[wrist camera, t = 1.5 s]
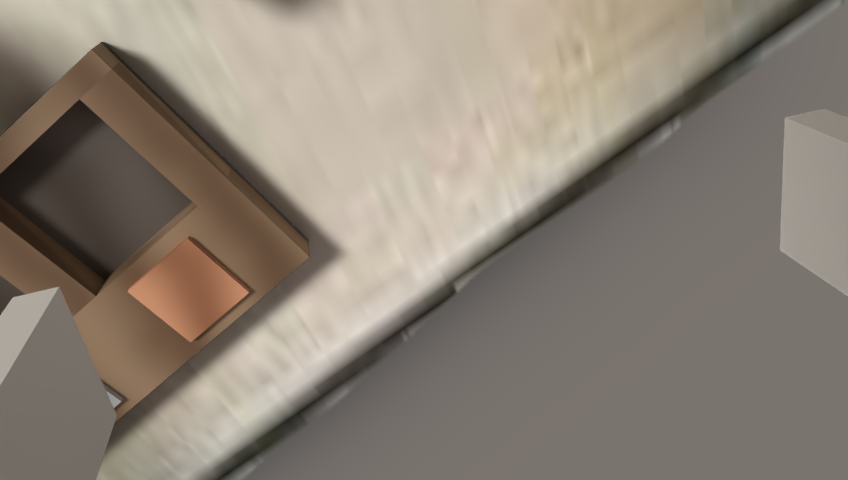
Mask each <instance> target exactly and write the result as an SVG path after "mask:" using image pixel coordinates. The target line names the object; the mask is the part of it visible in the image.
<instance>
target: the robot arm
mask: <svg viewBox="0 0 848 480" xmlns="http://www.w3.org/2000/svg"><path fill="white" fill-rule="evenodd" d="M780 251H781V252H783V253H785V254H786V255H787V256H789V257H790V258H792V259H793V260H795V261H796V262H798V263H799V264H801V265H802V266H804V267H805V268H806V269H808V270H809V271H811V272H812V273H814V274H815V275H817V276H819V277H820V278H822V279H823V280H824V281H826V282H827V283H829V284H830V285H832V286H833V287H834V288H836V289H837V290H839V291H840V292H842V293H843V294H845V295H846V296H848V117H845V116H843V115H840V114H837V113H834V112H832V111H829V110H826V109H819V110H815V111H811V112H807V113H803V114H798V115H794V116H789V117H785V125H784V152H783V178H782V204H781V231H780ZM116 417H117V414H116V412H115V410H114V408H113V405H112V403H111V401H110V399H109V396H108V394H107V392H106V390H105V388H104V385H103V383H102V381H101V379H100V376H99V374H98V372H97V370H96V368H95V365H94V363H93V361H92V359H91V356H90V354H89V352H88V350H87V347H86V345H85V343H84V341H83V339H82V336H81V334H80V332H79V330H78V327H77V325H76V323H75V321H74V319H73V316H72V314H71V312H70V310H69V307H68V305H67V303H66V301H65V298H64V296H63V294H62V292H61V290H60V287H55V288H51V289H47V290H42V291H38V292H34V293H30V294H25V295H21V296H17V297H13V298H12V299H11V301H10V302H9V304H8V305H7V306H6V308H5V309H4V311H3V312H2V314H1V315H0V480H96V478H97V475H98V472H99V469H100V466H101V463H102V460H103V457H104V453H105V450H106V447H107V444H108V441H109V438H110V435H111V432H112V429H113V426H114V423H115V420H116Z"/></svg>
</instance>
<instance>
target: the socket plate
mask: <svg viewBox="0 0 848 480" xmlns="http://www.w3.org/2000/svg"><path fill="white" fill-rule="evenodd" d="M309 257H310V255H309V242H308V239H307V238H306V237H305V236H304V235H303V234H302V233H301V232H300V231H299V230H298V229H296V228H295V227H294V226H293V225H292V224H291V223H290V222H289V221H288V220H287V219H286V218H285V217H284V216H283V215H282V214H281V213H280V212H279V211H278V210H277V209H276V208H275V207H274V206H273V205H272V204H271V203H269V202H268V201H267V200H266V199H265V198H264V197H263V196H262V195H261V194H260V193H259V192H258V191H257V190H256V189H255V188H254V187H253V186H252V185H251V184H250V183H249V182H248V181H247V180H246V179H245V178H244V177H243V176H241V175H240V174H239V173H238V172H237V171H236V170H235V169H234V168H233V167H232V166H231V165H230V164H229V163H228V162H227V161H226V160H225V159H224V158H223V157H222V156H221V155H220V154H219V153H218V152H217V151H216V150H214V149H213V148H212V147H211V146H210V145H209V144H208V143H207V142H206V141H205V140H204V139H203V138H202V137H201V136H200V135H199V134H198V133H197V132H196V131H195V130H194V129H193V128H192V127H191V126H190V125H189V124H187V123H186V122H185V121H184V120H183V119H182V118H181V117H180V116H179V115H178V114H177V113H176V112H175V111H174V110H173V109H172V108H171V107H170V106H169V105H168V104H167V103H166V102H165V101H164V100H163V99H162V98H160V97H159V96H158V95H157V94H156V93H155V92H154V91H153V90H152V89H151V88H150V87H149V86H148V85H147V84H146V83H145V82H144V81H143V80H142V79H141V78H140V77H139V76H138V75H137V74H136V73H135V72H133V71H132V70H131V69H130V68H129V67H128V66H127V65H126V64H125V63H124V62H123V61H122V60H121V59H120V58H119V57H118V56H117V55H116V54H115V53H114V52H113V51H112V50H111V49H110V48H109V47H108V46H107V45H105V44H104V43H103V42H101V43H100V44H98V45H97V46H96V47H94V48H93V49H91V50H90V51H89V52H88V53H87V54H86V55H85V56H84V57H83V58H82V59H81V60H80V61H79V62H78V63H77V64H76V65H75V66H74V67H72V68H71V69H70V70H69V71H68V72H67V73H66V74H65V75H64V76H63V77H62V78H61V79H60V80H59V81H58V82H57V83H56V84H55V85H54V86H53V87H51V88H50V89H49V90H48V91H47V92H46V93H45V94H44V95H43V96H42V97H41V98H40V99H39V100H38V101H37V102H36V103H35V104H34V105H33V106H31V107H30V108H29V109H28V110H27V111H26V112H25V113H24V114H23V115H22V116H21V117H20V118H19V119H18V120H17V121H16V122H15V123H14V124H13V125H12V126H10V127H9V128H8V129H7V130H6V131H5V132H4V133H3V134H2V135H1V136H0V315H1V314H2V312H3V311H4V309H5V308H6V306H7V305H8V304H9V302H10V301H11V299H12V298H13V297H17V296H21V295H25V294H30V293H34V292H38V291H42V290H47V289H51V288H55V287H60V290H61V292H62V294H63V296H64V298H65V301H66V303H67V305H68V307H69V310H70V312H71V314H72V316H73V319H74V321H75V323H76V325H77V327H78V330H79V332H80V334H81V336H82V339H83V341H84V343H85V345H86V347H87V350H88V352H89V354H90V356H91V359H92V361H93V363H94V365H95V368H96V370H97V372H98V374H99V376H100V379H101V381H102V383H103V385H104V388H105V390H106V392H107V394H108V396H109V399H110V401H111V403H112V405H113V408H114V410H115V412H116V414H117V417H116V420H115V422H116V421H117V420H118V419H120V418H121V417H122V416H123V415H124V414H125V413H127V412H128V411H129V410H130V409H131V408H133V407H134V406H135V405H136V404H137V403H138V402H140V401H141V400H142V399H143V398H144V397H145V396H147V395H148V394H149V393H150V392H151V391H153V390H154V389H155V388H156V387H157V386H158V385H160V384H161V383H162V382H163V381H164V380H165V379H167V378H168V377H169V376H170V375H171V374H173V373H174V372H175V371H176V370H177V369H178V368H180V367H181V366H182V365H183V364H184V363H186V362H187V361H188V360H189V359H190V358H191V357H193V356H194V355H195V354H196V353H197V352H198V351H200V350H201V349H202V348H203V347H204V346H206V345H207V344H208V343H209V342H210V341H211V340H213V339H214V338H215V337H216V336H217V335H218V334H220V333H221V332H222V331H223V330H224V329H226V328H227V327H228V326H229V325H230V324H231V323H233V322H234V321H235V320H236V319H237V318H239V317H240V316H241V315H242V314H243V313H244V312H246V311H247V310H248V309H249V308H250V307H251V306H253V305H254V304H255V303H256V302H257V301H259V300H260V299H261V298H262V297H263V296H264V295H266V294H267V293H268V292H269V291H270V290H272V289H273V288H274V287H275V286H276V285H277V284H279V283H280V282H281V281H282V280H283V279H284V278H286V277H287V276H288V275H289V274H290V273H292V272H293V271H294V270H295V269H296V268H297V267H299V266H300V265H301V264H302V263H303V262H304V261H306V260H307V259H308V258H309Z"/></svg>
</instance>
